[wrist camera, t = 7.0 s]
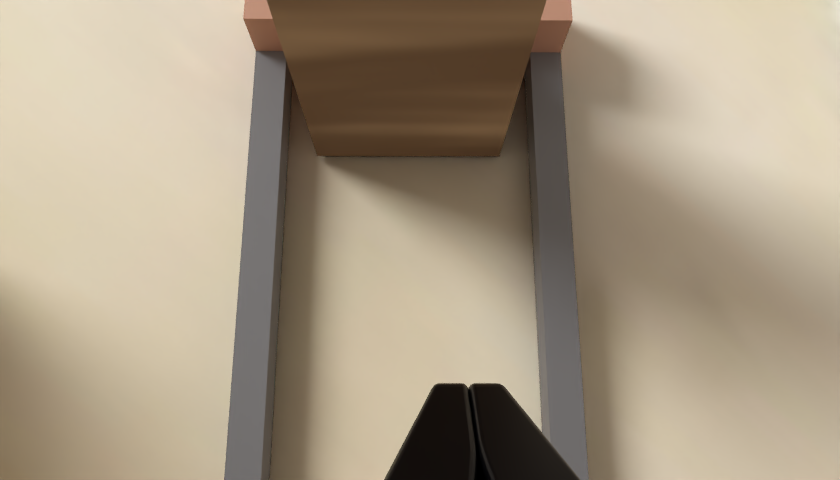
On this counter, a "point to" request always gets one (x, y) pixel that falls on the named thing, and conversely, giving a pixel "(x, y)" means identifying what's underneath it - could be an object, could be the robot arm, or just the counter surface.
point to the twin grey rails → (265, 245)
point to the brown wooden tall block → (407, 72)
